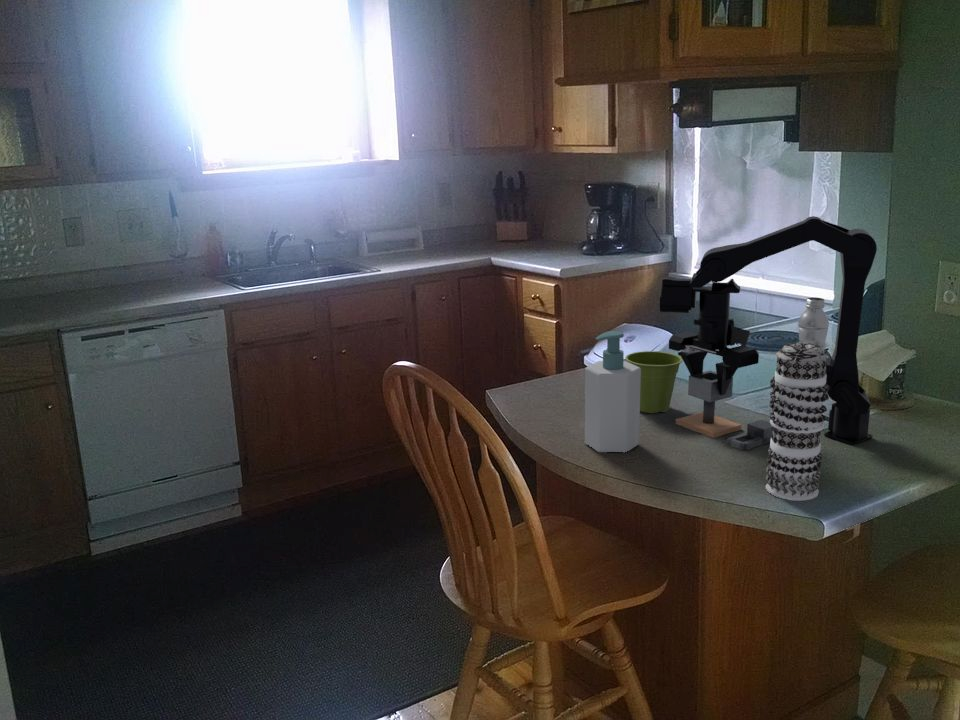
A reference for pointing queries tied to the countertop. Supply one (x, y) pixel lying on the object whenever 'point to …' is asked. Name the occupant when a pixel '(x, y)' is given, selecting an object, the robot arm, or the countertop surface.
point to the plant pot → (655, 378)
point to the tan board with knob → (708, 422)
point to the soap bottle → (612, 399)
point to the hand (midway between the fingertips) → (710, 390)
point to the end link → (707, 387)
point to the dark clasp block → (752, 436)
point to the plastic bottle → (813, 323)
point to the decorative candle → (797, 421)
